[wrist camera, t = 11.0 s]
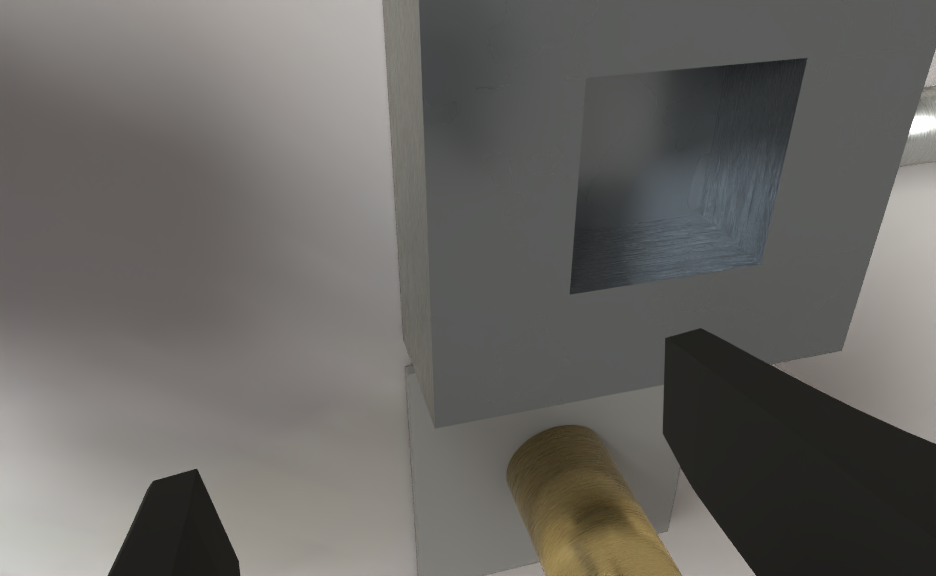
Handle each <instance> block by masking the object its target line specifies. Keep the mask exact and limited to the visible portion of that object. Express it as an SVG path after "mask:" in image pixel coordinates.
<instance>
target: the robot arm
mask: <svg viewBox="0 0 936 576" xmlns="http://www.w3.org/2000/svg"><path fill="white" fill-rule="evenodd" d="M663 435H664V437H665V439H666V441H667V443H668V445H669V446H670V448H671V450H672V452H673V454H674V456H675V458H676V460H677V461H678V463H679V465H680V467H681V469H682V470H683V472H684V474H685V476H686V477H687V479H688V481H689V483H690V484H691V486H692V488H693V489H694V491H695V492H696V494H697V495H698V496H699V498H700V499H701V501H702V502H703V504H704V505H705V506H706V508H707V509H708V510H709V512H710V513H711V515H712V516H713V517H714V519H715V520H716V522H717V523H718V524H719V526H720V527H721V528H722V530H723V531H724V533H725V534H726V535H727V537H728V538H729V539H730V541H731V542H732V543H733V545H734V546H735V548H736V549H737V550H738V552H739V553H740V554H741V556H742V557H743V558H744V560H745V561H746V562H747V564H748V565H749V567H750V568H751V569H752V571H753V572H754V573H755V575H756V576H936V444H934V443H932V442H929V441H927V440H925V439H922V438H920V437H917V436H915V435H913V434H910V433H908V432H906V431H903V430H901V429H899V428H897V427H894V426H892V425H890V424H888V423H886V422H883V421H881V420H879V419H877V418H875V417H872V416H870V415H868V414H866V413H864V412H861V411H859V410H857V409H855V408H853V407H851V406H849V405H847V404H845V403H843V402H841V401H839V400H837V399H835V398H833V397H831V396H829V395H827V394H825V393H823V392H821V391H819V390H817V389H815V388H813V387H811V386H809V385H807V384H805V383H803V382H801V381H799V380H798V379H796V378H794V377H792V376H790V375H788V374H786V373H784V372H782V371H781V370H779V369H777V368H775V367H773V366H771V365H769V364H768V363H766V362H764V361H762V360H760V359H758V358H757V357H755V356H753V355H751V354H749V353H747V352H746V351H744V350H742V349H740V348H738V347H736V346H734V345H733V344H731V343H729V342H727V341H725V340H723V339H721V338H720V337H718V336H716V335H714V334H712V333H710V332H708V331H706V330H704V329H702V328H699V329H696V330H692V331H688V332H685V333H681V334H678V335H674V336H670V337H667V338H665V364H664V400H663ZM108 576H240V569H239V561H238V559H237V556H236V554H235V552H234V550H233V547H232V545H231V543H230V541H229V539H228V536H227V534H226V532H225V530H224V527H223V525H222V523H221V521H220V519H219V516H218V514H217V512H216V510H215V507H214V505H213V503H212V501H211V499H210V496H209V494H208V492H207V490H206V487H205V485H204V483H203V481H202V479H201V476H200V474H199V472H198V470H197V469H194V470H191V471H187V472H184V473H180V474H176V475H173V476H169V477H166V478H162V479H159V480H155V481H153V482H152V483H151V485H150V486H149V488H148V489H147V492H146V494H145V496H144V498H143V501H142V503H141V505H140V507H139V510H138V512H137V514H136V516H135V518H134V521H133V523H132V525H131V527H130V530H129V532H128V534H127V536H126V538H125V540H124V543H123V545H122V547H121V549H120V551H119V553H118V555H117V557H116V559H115V562H114V564H113V566H112V568H111V570H110V572H109V574H108Z"/></svg>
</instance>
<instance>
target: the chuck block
mask: <svg viewBox="0 0 936 576" xmlns="http://www.w3.org/2000/svg"><path fill="white" fill-rule="evenodd" d="M383 16H384V32H385V49H386V65H387V81H388V97H389V114H390V130H391V146H392V163H393V179H394V195H395V211H396V228H397V244H398V260H399V276H400V293H401V309H402V325H403V340H404V343H405V346H406V348H407V351H408V354H409V357H410V360H411V363H412V365H413V368H414V371H415V374H416V377H417V379H418V382H419V385H420V388H421V391H422V394H423V396H424V399H425V402H426V405H427V408H428V411H429V413H430V416H431V419H432V422H433V425H434V428H435V429H436V428H441V427H446V426H452V425H457V424H462V423H467V422H473V421H478V420H483V419H488V418H493V417H499V416H504V415H509V414H514V413H519V412H525V411H530V410H535V409H540V408H545V407H551V406H556V405H561V404H566V403H571V402H577V401H582V400H587V399H592V398H597V397H603V396H608V395H613V394H618V393H623V392H629V391H634V390H639V389H644V388H649V387H655V386H660V385H664V364H665V338H667V337H670V336H674V335H678V334H681V333H685V332H688V331H692V330H696V329H699V328H702V329H704V330H706V331H708V332H710V333H712V334H714V335H716V336H718V337H720V338H721V339H723V340H725V341H727V342H729V343H731V344H733V345H734V346H736V347H738V348H740V349H742V350H744V351H746V352H747V353H749V354H751V355H753V356H755V357H757V358H758V359H760V360H762V361H764V362H766V363H768V364H774V363H780V362H785V361H790V360H795V359H800V358H806V357H811V356H816V355H821V354H826V353H832V352H837V351H842V348H843V345H844V341H845V338H846V335H847V332H848V329H849V325H850V322H851V319H852V316H853V312H854V309H855V306H856V303H857V300H858V296H859V293H860V290H861V287H862V284H863V280H864V277H865V274H866V271H867V268H868V264H869V261H870V258H871V255H872V251H873V248H874V245H875V242H876V239H877V235H878V232H879V229H880V226H881V223H882V219H883V216H884V213H885V210H886V206H887V203H888V200H889V197H890V194H891V190H892V187H893V184H894V181H895V178H896V174H897V171H898V168H899V166H907V165H914V164H922V163H930V162H936V86H931V87H924V84H925V81H926V78H927V75H928V72H929V68H930V65H931V62H932V59H933V56H934V52H935V49H936V0H383Z"/></svg>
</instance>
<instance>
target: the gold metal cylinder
mask: <svg viewBox="0 0 936 576" xmlns="http://www.w3.org/2000/svg"><path fill="white" fill-rule="evenodd" d="M506 479H507V484H508V487H509V489H510V491H511V494H512V496H513V499H514V501H515V503H516V506H517V508H518V511H519V513H520V515H521V518H522V520H523V523H524V525H525V527H526V530H527V532H528V535H529V537H530V539H531V542H532V544H533V547H534V549H535V551H536V554H537V556H538V559H539V561H540V563H541V566H542V568H543V571H544V573H545V575H546V576H682V575H681V573H680V571H679V570H678V568H677V566H676V565H675V563H674V561H673V560H672V558H671V556H670V554H669V553H668V551H667V549H666V548H665V546H664V544H663V543H662V541H661V539H660V538H659V536H658V534H657V533H656V531H655V529H654V528H653V526H652V524H651V522H650V521H649V519H648V517H647V516H646V514H645V512H644V511H643V509H642V507H641V506H640V504H639V502H638V501H637V499H636V497H635V495H634V494H633V492H632V490H631V489H630V487H629V485H628V484H627V482H626V480H625V479H624V477H623V475H622V474H621V472H620V470H619V469H618V467H617V465H616V463H615V462H614V460H613V458H612V457H611V455H610V453H609V452H608V450H607V448H606V447H605V445H604V443H603V442H602V440H601V438H600V437H599V436H598V435H597V434H596V433H595V432H594V431H592V430H591V429H589V428H587V427H583V426H578V425H562V426H557V427H553V428H550V429H547V430H545V431H542V432H540V433H538V434H536V435H535V436H533V437H532V438H530V439H529V440H527V441H526V442H525V443H524V444H523V445H522V446H521V447H520V448H519V449H518V450H517V451H516V452H515V454H514V455H513V456H512V458H511V460H510V462H509V465H508V467H507V472H506Z"/></svg>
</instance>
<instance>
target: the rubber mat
mask: <svg viewBox="0 0 936 576" xmlns="http://www.w3.org/2000/svg"><path fill="white" fill-rule="evenodd" d="M405 374H406V390H407V407H408V423H409V439H410V456H411V472H412V488H413V504H414V521H415V537H416V553H417V570H418V576H483V575H487V574H491V573H496V572H500V571H504V570H508V569H512V568H516V567H521V566H525V565H529V564H533V563H537V562H540V561H539V559H538V556H537V554H536V551H535V549H534V547H533V544H532V542H531V539H530V537H529V535H528V532H527V530H526V527H525V525H524V523H523V520H522V518H521V515H520V513H519V511H518V508H517V506H516V503H515V501H514V499H513V496H512V494H511V491H510V489H509V487H508V484H507V479H506V472H507V467H508V465H509V462H510V460H511V458H512V456H513V455H514V454H515V452H516V451H517V450H518V449H519V448H520V447H521V446H522V445H523V444H524V443H525V442H526V441H527V440H529V439H530V438H532V437H533V436H535V435H536V434H538V433H540V432H542V431H545V430H547V429H550V428H553V427H557V426H562V425H578V426H583V427H587V428H589V429H591V430H592V431H594V432H595V433H596V434H597V435H598V436H599V437H600V438H601V440H602V442H603V443H604V445H605V447H606V448H607V450H608V452H609V453H610V455H611V457H612V458H613V460H614V462H615V463H616V465H617V467H618V469H619V470H620V472H621V474H622V475H623V477H624V479H625V480H626V482H627V484H628V485H629V487H630V489H631V490H632V492H633V494H634V495H635V497H636V499H637V501H638V502H639V504H640V506H641V507H642V509H643V511H644V512H645V514H646V516H647V517H648V519H649V521H650V522H651V524H652V526H653V528H654V529H655V531H656V533H657V534H658V533H662V532H667V531H668V527H669V522H670V517H671V512H672V507H673V501H674V496H675V491H676V486H677V481H678V476H679V470H680V465H679V463H678V461H677V460H676V458H675V456H674V454H673V452H672V450H671V448H670V446H669V445H668V443H667V441H666V439H665V437H664V435H663V400H664V385H660V386H655V387H649V388H644V389H639V390H634V391H629V392H623V393H618V394H613V395H608V396H603V397H597V398H592V399H587V400H582V401H577V402H571V403H566V404H561V405H556V406H551V407H545V408H540V409H535V410H530V411H525V412H519V413H514V414H509V415H504V416H499V417H493V418H488V419H483V420H478V421H473V422H467V423H462V424H457V425H452V426H446V427H441V428H436V429H435V428H434V425H433V422H432V419H431V416H430V413H429V411H428V408H427V405H426V402H425V399H424V396H423V394H422V391H421V388H420V385H419V382H418V379H417V377H416V374H415V371H414V368H413V365H411V366H406V367H405Z"/></svg>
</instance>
